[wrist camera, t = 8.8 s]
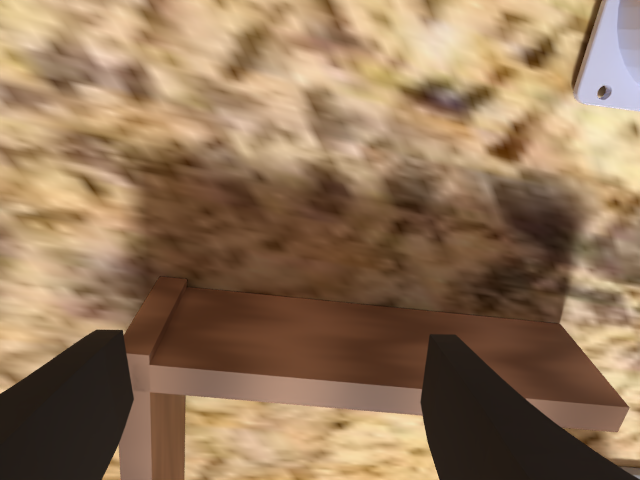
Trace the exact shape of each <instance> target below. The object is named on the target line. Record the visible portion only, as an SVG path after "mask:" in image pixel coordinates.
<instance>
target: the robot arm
mask: <svg viewBox="0 0 640 480" xmlns="http://www.w3.org/2000/svg"><path fill="white" fill-rule="evenodd" d="M602 86H605V88H606V92H605V94H604V95H603V96H602V97H601V98H598V96H597V92H598V90H599V88H601V87H602ZM573 94H574V98H575V99H576V100H577V101H578V102H580V103H583V104H587V105H594V106H602V107H610V108H618V109H626V110H634V111H640V0H602V2H601V5H600V8H599V11H598V14H597V17H596V21H595V24H594V27H593V30H592V33H591V36H590V39H589V43H588V46H587V49H586V52H585V55H584V58H583V62H582V65H581V68H580V71H579V74H578V77H577V80H576V84H575V87H574V92H573ZM133 401H134V396H133V390H132V384H131V378H130V372H129V366H128V360H127V354H126V348H125V342H124V336H123V330H95V331H94V332H92V333H90V334H89V335H87V336H85V337H84V338H82V339H81V340H79V341H78V342H77V343H75V344H74V345H72V346H71V347H69V348H68V349H66V350H65V351H63V352H62V353H61V354H59V355H58V356H56V357H55V358H53V359H52V360H51V361H49V362H48V363H46V364H45V365H43V366H42V367H40V368H39V369H37V370H36V371H34V372H33V373H32V374H30V375H29V376H27V377H26V378H24V379H23V380H21V381H20V382H18V383H17V384H15V385H14V386H12V387H10V388H9V389H7V390H6V391H4V392H3V393H1V394H0V480H102V478H103V476H104V474H105V472H106V470H107V468H108V465H109V463H110V461H111V459H112V457H113V455H114V453H115V451H116V449H117V446H118V444H119V442H120V440H121V437H122V434H123V431H124V429H125V426H126V423H127V420H128V417H129V413H130V410H131V407H132V404H133ZM420 403H421V409H422V414H423V420H424V425H425V430H426V435H427V440H428V444H429V448H430V451H431V454H432V457H433V460H434V464H435V467H436V470H437V473H438V476H439V479H440V480H640V479H638V478H637V477H635V476H633V475H632V474H630V473H628V472H627V471H625V470H623V469H622V468H620V467H618V466H617V465H615V464H614V463H612V462H610V461H609V460H607V459H606V458H604V457H603V456H601V455H600V454H598V453H597V452H595V451H594V450H592V449H591V448H589V447H588V446H587V445H585V444H584V443H582V442H581V441H579V440H578V439H577V438H575V437H574V436H572V435H571V434H569V433H568V432H567V431H565V430H564V429H563V428H561V427H560V426H559V425H557V424H556V423H555V422H553V421H552V420H551V419H550V418H548V417H547V416H546V415H545V414H543V413H542V412H541V411H540V410H538V409H537V408H536V407H535V406H533V405H532V404H531V403H530V402H529V401H527V400H526V399H525V398H524V397H523V396H521V395H520V394H519V393H518V392H517V391H516V390H515V389H513V388H512V387H511V386H510V385H509V384H508V383H507V382H506V381H504V380H503V379H502V378H501V377H500V376H499V375H498V374H497V373H496V372H495V371H494V370H493V369H491V368H490V367H489V366H488V365H487V364H486V363H485V362H484V361H483V360H482V359H481V358H480V357H479V356H478V355H477V354H476V353H475V352H474V351H473V350H471V349H470V348H469V347H468V346H467V345H466V344H465V343H464V342H463V341H462V340H461V339H460V338H459V337H458V336H457V335H455V334H430V335H429V343H428V350H427V357H426V364H425V372H424V379H423V386H422V394H421V401H420Z"/></svg>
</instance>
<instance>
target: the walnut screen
mask: <svg viewBox="0 0 640 480" xmlns="http://www.w3.org/2000/svg"><path fill="white" fill-rule="evenodd" d="M430 334H455V335H457V336H458V337H459V338H460V339H461V340H462V341H463V342H464V343H465V344H466V345H467V346H468V347H469V348H470V349H471V350H473V351H474V352H475V353H476V354H477V355H478V356H479V357H480V358H481V359H482V360H483V361H484V362H485V363H486V364H487V365H488V366H489V367H490V368H491V369H493V370H494V371H495V372H496V373H497V374H498V375H499V376H500V377H501V378H502V379H503V380H504V381H506V382H507V383H508V384H509V385H510V386H511V387H512V388H513V389H515V390H516V391H517V392H518V393H519V394H520V395H521V396H523V397H524V398H525V399H526V400H527V401H529V402H530V403H531V404H532V405H533V406H535V407H536V408H537V409H538V410H540V411H541V412H542V413H543V414H545V415H546V416H547V417H548V418H550V419H551V420H552V421H553V422H555V423H556V424H557V425H559V426H560V427H562V428H574V429H586V430H597V431H609V432H618V431H619V428H620V426H621V424H622V422H623V420H624V418H625V416H626V414H627V412H628V410H629V406H628V405H627V404H626V403H625V402H624V400H623V399H622V398H621V397H620V396H619V394H618V393H617V392H616V391H615V389H614V388H613V387H612V386H611V385H610V383H609V382H608V381H607V380H606V379H605V377H604V376H603V375H602V374H601V373H600V371H599V370H598V369H597V368H596V367H595V365H594V364H593V363H592V362H591V360H590V359H589V358H588V357H587V356H586V354H585V353H584V352H583V351H582V350H581V348H580V347H579V346H578V345H577V344H576V342H575V341H574V340H573V339H572V338H571V336H570V335H569V334H568V333H567V332H566V330H565V329H564V328H563V327H562V325H561V324H557V323H546V322H536V321H526V320H516V319H506V318H496V317H486V316H476V315H466V314H456V313H445V312H435V311H425V310H415V309H405V308H395V307H385V306H375V305H365V304H355V303H344V302H334V301H324V300H314V299H304V298H294V297H284V296H274V295H264V294H254V293H243V292H233V291H223V290H213V289H203V288H193V287H187V279H181V278H171V277H161V276H160V277H159V279H158V280H157V282H156V283H155V285H154V287H153V288H152V290H151V292H150V293H149V295H148V297H147V298H146V300H145V301H144V303H143V305H142V306H141V308H140V310H139V311H138V313H137V315H136V316H135V318H134V319H133V321H132V323H131V324H130V326H129V328H128V329H127V331H126V333H125V334H124V342H125V348H126V354H127V360H128V366H129V372H130V378H131V384H132V390H133V396H134V401H133V404H132V407H131V410H130V413H129V417H128V420H127V423H126V426H125V429H124V431H123V434H122V437H121V440H120V442H119V457H120V474H121V480H184V457H185V395H189V396H201V397H212V398H224V399H236V400H247V401H259V402H271V403H282V404H294V405H306V406H317V407H329V408H341V409H352V410H364V411H376V412H387V413H399V414H411V415H422V416H423V414H422V409H421V403H420V401H421V394H422V386H423V379H424V372H425V364H426V357H427V350H428V343H429V335H430Z"/></svg>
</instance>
